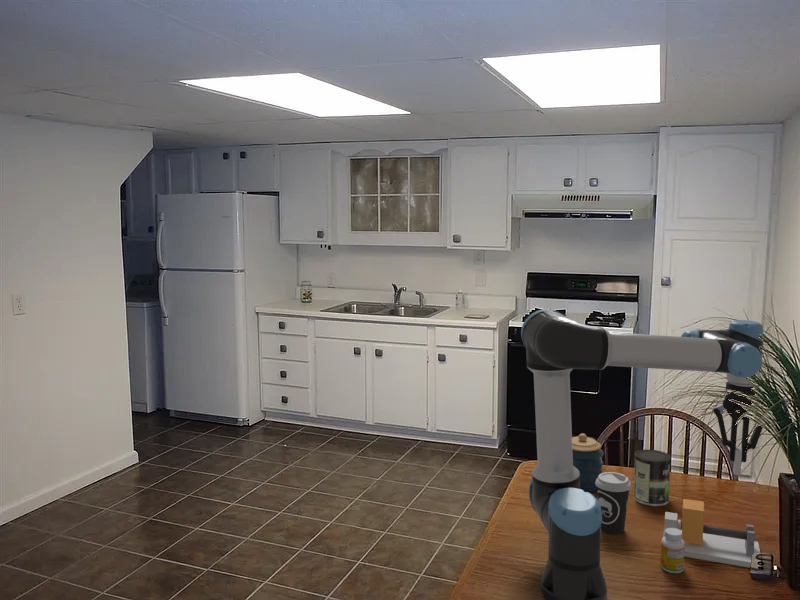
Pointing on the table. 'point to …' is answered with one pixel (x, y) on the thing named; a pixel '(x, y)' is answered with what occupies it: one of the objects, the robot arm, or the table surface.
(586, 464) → the canister
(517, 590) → the table surface
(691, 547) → the white slider rail stand
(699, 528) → the orange rectangular block
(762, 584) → the table surface
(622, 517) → the coffee cup
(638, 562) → the table surface
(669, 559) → the supplement bottle
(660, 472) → the coffee can
